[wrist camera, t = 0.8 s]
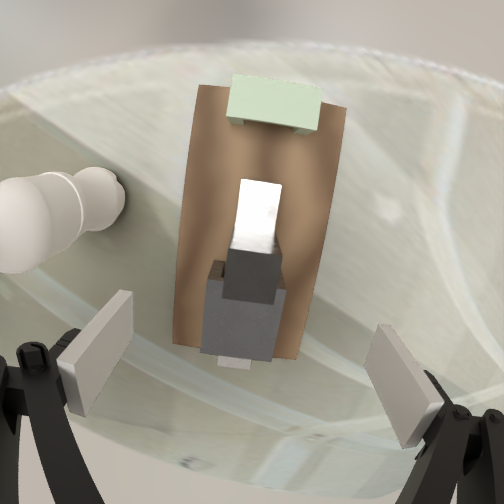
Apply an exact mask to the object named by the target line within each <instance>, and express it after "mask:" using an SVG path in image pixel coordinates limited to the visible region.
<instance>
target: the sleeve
mask: <svg viewBox="0 0 504 504" xmlns="http://www.w3.org/2000/svg"><path fill="white" fill-rule="evenodd" d="M224 262H225V261H220V260H214V261H213V264H212V267H211V269H210V272H209V275H208V278H207V284H206V294H205V304H204V314H203V325H202V336H201V348H200V353H205V354H212V355H218V356H226V357H233V358H241V359H249V360H258V361H267V362H271V361H272V357H273V352H274V347H275V343H276V338H277V334H278V329H279V324H280V320H281V315H282V310H283V305H284V300H285V295H286V291H287V290H286V286H285V282H284V278H283V274H282V270H281V269H280V275H279V280H278V285H277V291H276V296H275V301H274V305H267V304H259V303H252V302H244V301H237V300H230V299H223V298H222V291H223V283H224V278H223V270H224Z"/></svg>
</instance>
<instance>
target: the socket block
mask: <svg viewBox="0 0 504 504" xmlns="http://www.w3.org/2000/svg"><path fill="white" fill-rule="evenodd" d="M322 92H323V88H318V87H313V86H308V85H303V84H298V83H293V82H287V81H281V80H275V79H269V78H262V77H255V76H247V75H239V74H233V76H232V82H231V88H230V94H229V100H228V106H227V113H226V117H227V119H228V120H229V122H230V124H238V125H244V120H250V121H257V122H264V123H270V124H277V125H283V126H289V127H294V128H293V133H296V134H301V135H308V134H310V133H312V132H315V131H317V127H318V120H319V113H320V106H321V99H322Z"/></svg>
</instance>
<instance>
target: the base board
mask: <svg viewBox="0 0 504 504" xmlns="http://www.w3.org/2000/svg"><path fill="white" fill-rule="evenodd" d="M229 94H230V87H220V86H210V85H199V88H198V93H197V99H196V105H195V112H194V118H193V124H192V131H191V138H190V145H189V152H188V160H187V168H186V176H185V184H184V193H183V202H182V211H181V221H180V232H179V243H178V255H177V268H176V282H175V299H174V319H173V344H179V345H185V346H191V347H197V348H201V336H202V325H203V314H204V304H205V294H206V284H207V278H208V275H209V272H210V269H211V267H212V264H213V261H214V260H220V261H225V262H224V270H223V278H224V275H225V267H226V260H227V252H228V246H229V242H230V239H231V235H232V231H233V227H234V226H235V222H236V215H237V208H238V201H239V194H240V187H241V180H242V177H246V178H253V179H260V180H267V181H273V182H279V183H280V184H281V185H282V187H281V193H280V199H279V205H278V211H277V218H276V224H275V230H274V231H275V232H276V235H277V238H278V242H279V245H280V248H281V251H282V254H283V258H282V264H281V270H282V274H283V278H284V282H285V286H286V290H287V291H286V295H285V300H284V305H283V310H282V315H281V320H280V324H279V329H278V334H277V338H276V343H275V347H274V352H273V357H274V358H284V359H295V360H296V358H297V354H298V350H299V347H300V343H301V339H302V335H303V331H304V327H305V323H306V319H307V315H308V311H309V307H310V302H311V298H312V294H313V290H314V285H315V281H316V276H317V272H318V267H319V263H320V258H321V253H322V248H323V244H324V239H325V234H326V229H327V224H328V219H329V213H330V208H331V203H332V197H333V192H334V186H335V180H336V174H337V169H338V162H339V156H340V150H341V144H342V137H343V130H344V123H345V116H346V109H347V108H344V107H340V106H336V105H331V104H327V103H322V102H321V106H320V113H319V120H318V127H317V131H315V132H312V133H310V134H308V135H301V134H296V133H293V128H294V127H289V126H283V125H277V124H270V123H264V122H257V121H250V120H244V125H238V124H230V122H229V120H228V119H227V117H226V113H227V106H228V100H229Z"/></svg>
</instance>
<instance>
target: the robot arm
mask: <svg viewBox="0 0 504 504" xmlns="http://www.w3.org/2000/svg"><path fill="white" fill-rule="evenodd" d="M133 337H134V329H133V292H131V291H126V290H119V291H118V292H117V293H116V294H115V295H114V296H113V297H112V298H111V299H110V300H109V301H108V302H107V303H106V305H105V306H104V307H103V308H102V309H101V310H100V311H99V312H98V313H97V314H96V315H95V316H94V318H93V319H92V320H91V321H90V322H89V323H88V324H87V325H86V326H85V327H84V329H83V330H80V329H76V328H74V329H72V330H70V331H68V332H66V333H65V334H64V335H63V336H62V337H61V338H60V340H58V341H57V342H56V345H54V346H53V347H52V348H51V349H50V350H49V351H48V349H47V347H46V346H45V345H44V344H42V343H39V342H27V343H24V344H22V345H21V346H19V348H18V349H17V352H16V355H17V358H18V362H19V366H20V367H12V366H7V363H6V360H5V359H4V357H2V356H1V355H0V504H19V499H18V498H19V496H18V461H19V460H18V459H19V441H20V428H21V417H22V415H24V416H29V418H30V422H31V427H32V431H33V435H34V439H35V443H36V447H37V450H38V453H39V457H40V460H41V464H42V467H43V470H44V473H45V476H46V479H47V482H48V485H49V488H50V490H51V493H52V496H53V498H54V501H55V504H105V503H104V501H103V499H102V497H101V495H100V494H99V491H98V490H97V488H96V485H95V483H94V481H93V479H92V477H91V475H90V473H89V471H88V469H87V466H86V464H85V462H84V460H83V457H82V455H81V453H80V450H79V448H78V446H77V443H76V441H75V438H74V436H73V433H72V430H71V427H70V425H69V422H68V419H67V416H66V413H65V410H64V408H63V407H64V406H65V404H66V403H67V405H68V408H69V412H71V413H74V414H77V415H80V416H83V417H86V416H87V414H88V412H89V410H90V409H91V407H92V405H93V403H94V402H95V400H96V398H97V397H98V395H99V393H100V391H101V390H102V388H103V386H104V385H105V383H106V381H107V380H108V378H109V376H110V375H111V373H112V371H113V370H114V368H115V366H116V365H117V363H118V361H119V360H120V358H121V356H122V355H123V353H124V351H125V350H126V348H127V347H128V345H129V343H130V342H131V340H132V339H133ZM364 367H365V369H366V371H367V373H368V375H369V377H370V379H371V381H372V383H373V385H374V388H375V390H376V392H377V394H378V396H379V398H380V400H381V403H382V405H383V407H384V409H385V411H386V413H387V416H388V418H389V420H390V422H391V424H392V427H393V429H394V431H395V433H396V436H397V438H398V440H399V442H400V445H401V447H402V449H404V448H411V447H416V446H417V445H418V444H419V442H420V441H421V439H422V438H423V439H424V441H425V445H424V446H423V448H422V449H421V451H420V452H419V453H418V455H417V456H416V457H415V460H417V461H416V463H415V465H414V467H413V470H412V472H411V474H410V476H409V478H408V480H407V482H406V484H405V486H404V488H403V490H402V492H401V494H400V496H399V498H398V499H397V501H396V503H395V504H450V502H451V499H452V496H453V493H454V490H455V487H456V484H457V504H504V415H503V414H502V412H500V411H499V410H495V409H488V410H486V412H485V413H484V415H483V416H482V417H477V416H472V414H471V413H470V411H469V410H468V409H467V408H465V407H464V406H461V405H458V404H453V403H452V401H451V400H450V398H449V397H448V396H447V394H446V393H445V391H444V390H443V389H442V387H441V386H440V384H438V381H437V380H436V379H435V377H434V376H433V375H432V374H431V373H429V372H428V371H427V370H423V369H422V368H421V367H420V365H419V364H418V362H417V361H416V360H415V358H414V357H413V355H412V354H411V353H410V351H409V350H408V348H407V347H406V346H405V344H404V343H403V342H402V340H401V339H400V337H399V336H398V335H397V333H396V332H395V331H394V329H393V328H392V327H391V325H383V324H378V327H377V330H376V333H375V336H374V339H373V342H372V344H371V347H370V350H369V353H368V355H367V358H366V361H365V363H364Z"/></svg>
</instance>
